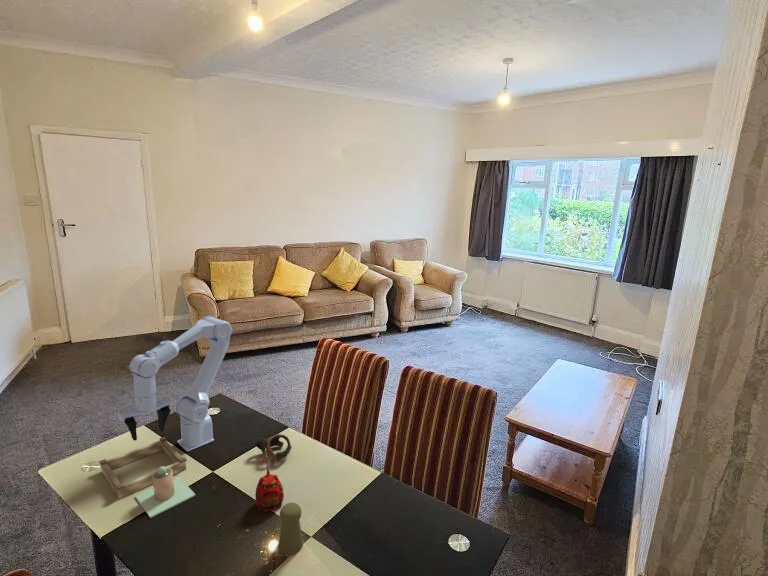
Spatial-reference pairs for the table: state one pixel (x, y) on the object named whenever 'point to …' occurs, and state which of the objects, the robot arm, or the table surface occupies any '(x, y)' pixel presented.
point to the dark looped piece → (271, 442)
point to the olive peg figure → (290, 529)
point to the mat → (158, 507)
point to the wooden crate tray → (134, 455)
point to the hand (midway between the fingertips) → (148, 434)
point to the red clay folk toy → (269, 491)
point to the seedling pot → (163, 483)
